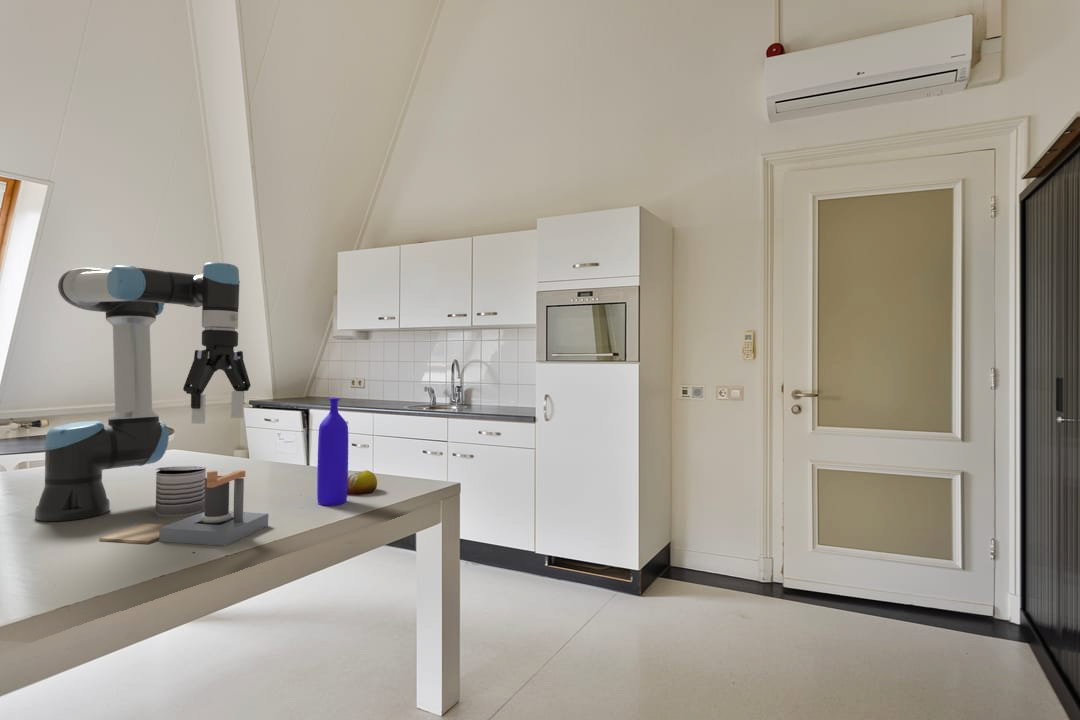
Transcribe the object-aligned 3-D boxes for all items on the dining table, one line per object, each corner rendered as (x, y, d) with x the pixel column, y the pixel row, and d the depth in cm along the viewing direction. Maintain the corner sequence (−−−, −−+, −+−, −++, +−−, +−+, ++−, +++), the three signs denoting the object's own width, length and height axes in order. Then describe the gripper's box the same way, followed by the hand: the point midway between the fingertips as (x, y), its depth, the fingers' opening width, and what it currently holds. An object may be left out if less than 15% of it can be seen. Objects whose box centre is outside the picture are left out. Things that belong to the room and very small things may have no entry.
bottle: (337, 507, 165) (339, 399, 165) (310, 505, 167) (312, 398, 167) (352, 500, 173) (354, 397, 173) (327, 498, 175) (329, 396, 175)
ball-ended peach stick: (215, 487, 126) (215, 472, 126) (203, 487, 126) (203, 472, 126) (247, 475, 140) (247, 462, 140) (236, 475, 140) (236, 461, 140)
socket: (159, 541, 132) (160, 483, 132) (208, 522, 148) (209, 470, 148) (225, 545, 130) (226, 486, 130) (268, 525, 146) (269, 472, 146)
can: (144, 514, 154) (145, 468, 154) (184, 504, 165) (185, 461, 165) (176, 519, 150) (177, 471, 150) (215, 508, 161) (215, 464, 161)
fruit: (360, 485, 193) (366, 462, 192) (380, 499, 187) (386, 475, 186) (331, 490, 184) (336, 466, 182) (351, 505, 178) (357, 480, 177)
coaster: (99, 540, 132) (99, 537, 132) (142, 525, 144) (142, 523, 144) (148, 543, 130) (148, 541, 130) (187, 528, 142) (187, 526, 142)
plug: (194, 536, 136) (195, 479, 136) (213, 528, 143) (214, 474, 143) (219, 537, 136) (220, 481, 136) (237, 530, 142) (238, 475, 142)
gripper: (197, 326, 126) (195, 426, 126) (266, 332, 151) (265, 416, 151) (165, 326, 127) (163, 425, 127) (239, 332, 152) (237, 415, 152)
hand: (218, 420), depth 139 cm, fingers open, 13 cm apart
